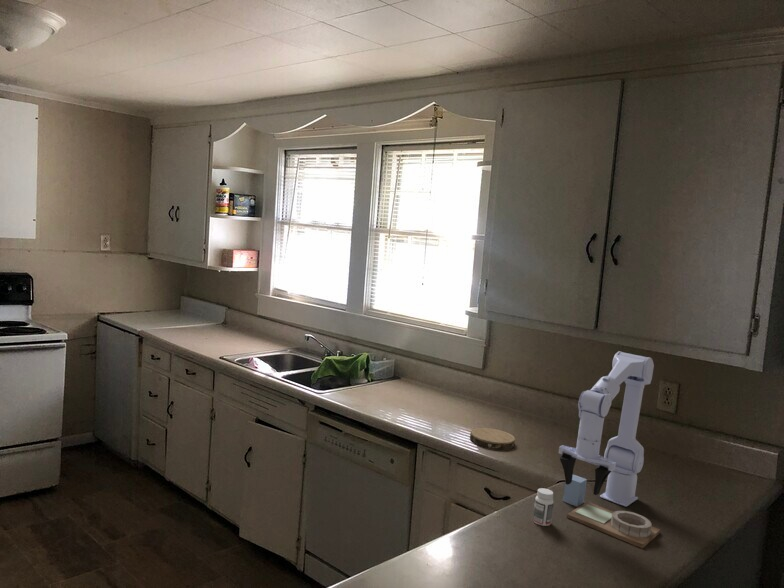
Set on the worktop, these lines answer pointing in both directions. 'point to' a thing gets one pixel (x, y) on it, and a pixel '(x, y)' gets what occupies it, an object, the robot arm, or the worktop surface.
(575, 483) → the peg block
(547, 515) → the pill bottle
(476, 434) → the tan round disc
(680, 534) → the worktop surface
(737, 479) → the worktop surface
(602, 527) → the board
